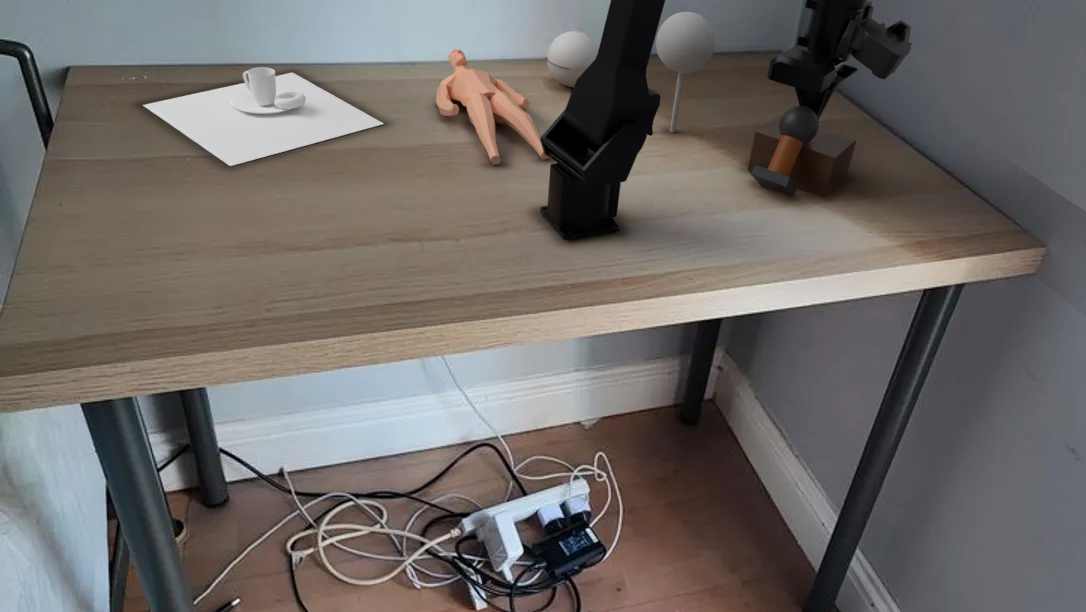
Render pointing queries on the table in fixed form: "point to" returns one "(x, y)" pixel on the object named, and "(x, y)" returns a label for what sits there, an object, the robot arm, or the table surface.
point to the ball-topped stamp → (788, 149)
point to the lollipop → (684, 48)
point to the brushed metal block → (807, 157)
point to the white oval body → (571, 56)
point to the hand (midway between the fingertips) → (809, 126)
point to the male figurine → (486, 105)
